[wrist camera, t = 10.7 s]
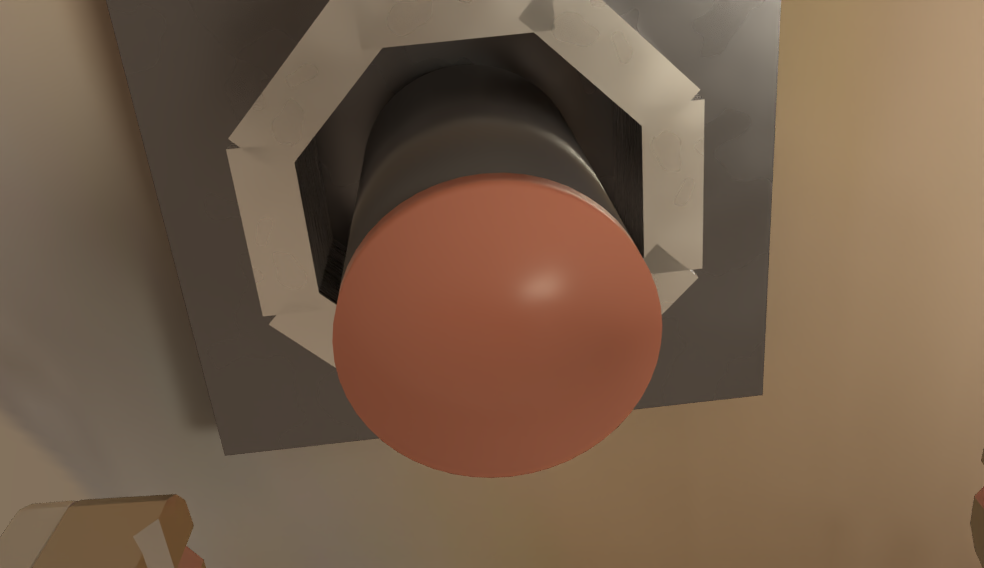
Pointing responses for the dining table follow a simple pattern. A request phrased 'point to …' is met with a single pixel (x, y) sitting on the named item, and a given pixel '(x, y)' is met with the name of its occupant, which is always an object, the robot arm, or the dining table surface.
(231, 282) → the octagon ring plate
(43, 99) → the dining table surface
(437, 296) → the dome-topped dark cylinder
